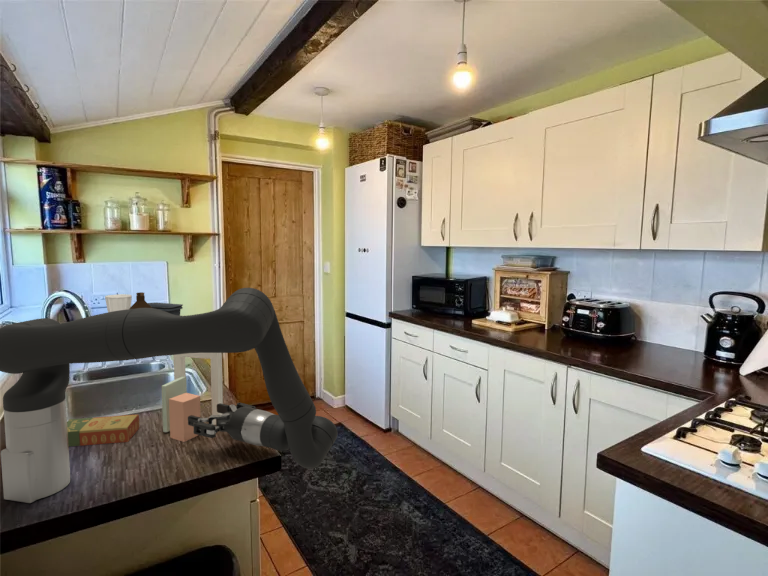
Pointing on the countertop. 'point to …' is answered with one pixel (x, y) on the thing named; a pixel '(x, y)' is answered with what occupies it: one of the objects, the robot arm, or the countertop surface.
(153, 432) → the countertop surface
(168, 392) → the door
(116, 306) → the cup
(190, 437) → the block
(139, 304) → the olive oil
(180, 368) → the door frame
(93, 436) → the carton
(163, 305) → the storage bin
